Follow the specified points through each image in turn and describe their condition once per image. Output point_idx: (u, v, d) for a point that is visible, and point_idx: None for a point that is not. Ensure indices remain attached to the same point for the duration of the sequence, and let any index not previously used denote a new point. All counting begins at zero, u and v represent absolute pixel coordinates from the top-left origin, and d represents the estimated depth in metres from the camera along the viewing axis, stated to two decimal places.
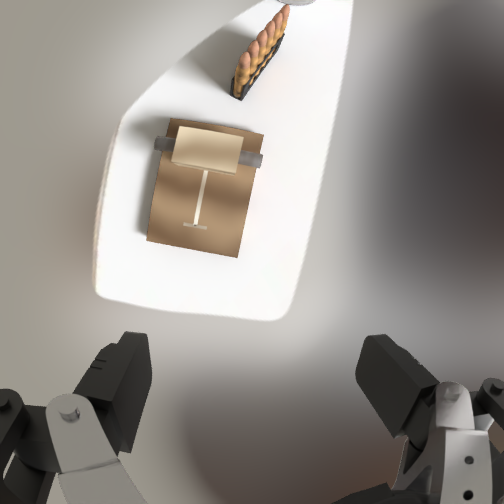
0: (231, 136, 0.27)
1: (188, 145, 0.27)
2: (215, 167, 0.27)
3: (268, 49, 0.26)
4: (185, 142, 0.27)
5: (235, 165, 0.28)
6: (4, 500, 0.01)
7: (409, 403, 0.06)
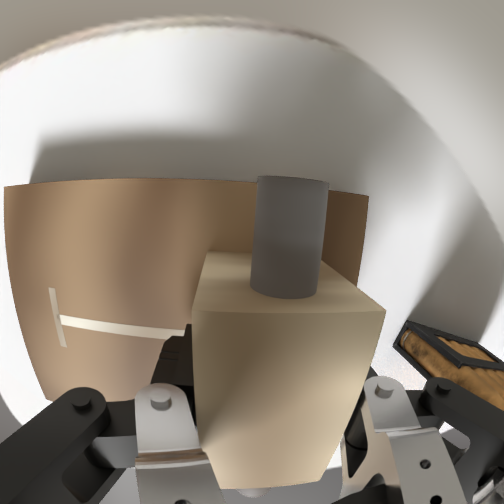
0: (322, 464, 0.06)
1: (289, 373, 0.05)
2: None
3: None
4: (304, 358, 0.05)
5: (227, 486, 0.06)
6: (55, 495, 0.02)
7: None
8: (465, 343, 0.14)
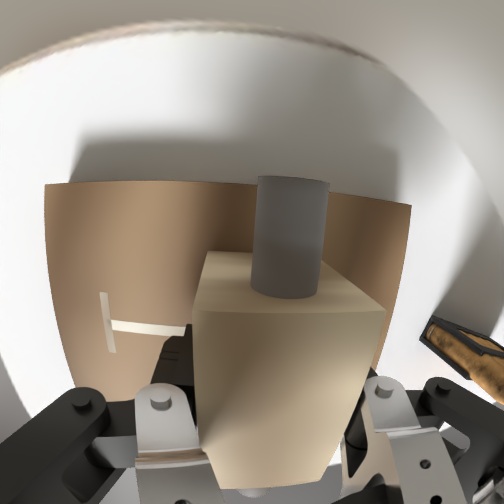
0: (323, 464, 0.06)
1: (289, 373, 0.05)
2: None
3: None
4: (305, 358, 0.05)
5: (227, 486, 0.06)
6: (55, 495, 0.02)
7: None
8: (480, 336, 0.14)
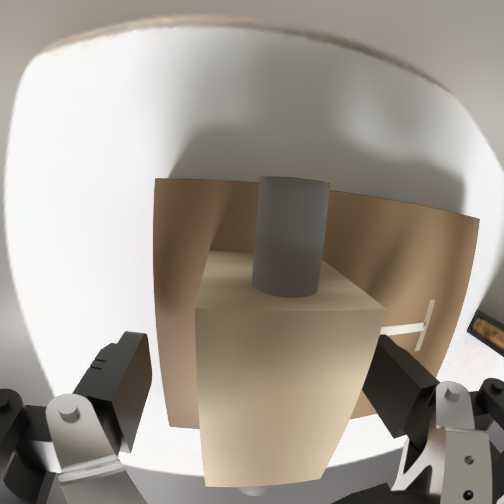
0: (323, 462, 0.07)
1: (290, 371, 0.05)
2: (207, 456, 0.06)
3: None
4: (306, 356, 0.05)
5: (228, 484, 0.06)
6: (4, 500, 0.01)
7: (409, 403, 0.06)
8: None
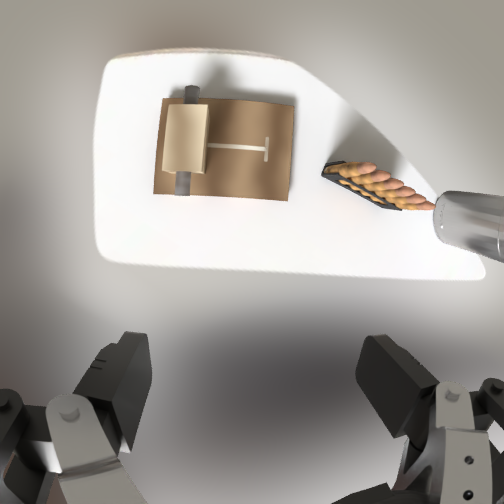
0: (200, 158, 0.25)
1: (186, 117, 0.24)
2: (165, 148, 0.25)
3: (381, 194, 0.29)
4: (189, 113, 0.24)
5: (169, 168, 0.25)
6: (4, 500, 0.01)
7: (409, 403, 0.06)
8: None
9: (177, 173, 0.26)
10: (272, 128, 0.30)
